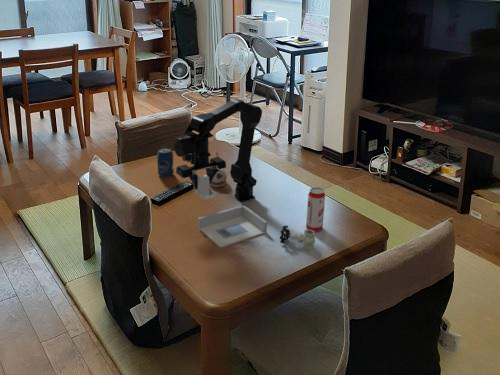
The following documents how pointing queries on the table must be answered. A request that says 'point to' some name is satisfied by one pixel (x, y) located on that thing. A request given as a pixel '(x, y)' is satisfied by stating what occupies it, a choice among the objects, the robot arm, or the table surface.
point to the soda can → (165, 162)
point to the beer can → (315, 209)
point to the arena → (232, 225)
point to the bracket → (204, 188)
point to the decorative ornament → (219, 177)
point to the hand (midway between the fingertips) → (201, 187)
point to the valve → (299, 237)
